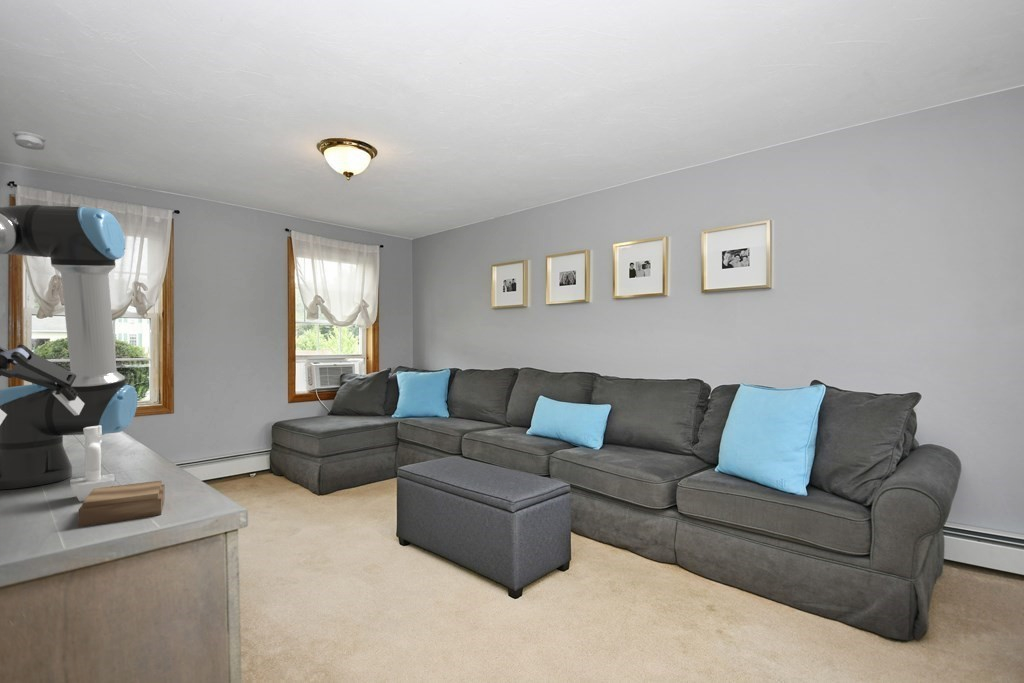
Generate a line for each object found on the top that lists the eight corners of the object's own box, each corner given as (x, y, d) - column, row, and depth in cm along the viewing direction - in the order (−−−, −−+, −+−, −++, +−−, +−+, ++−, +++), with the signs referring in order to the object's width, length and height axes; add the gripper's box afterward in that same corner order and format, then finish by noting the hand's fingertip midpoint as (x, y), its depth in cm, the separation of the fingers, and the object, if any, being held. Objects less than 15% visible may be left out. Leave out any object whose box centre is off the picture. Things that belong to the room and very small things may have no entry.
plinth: (90, 508, 100) (90, 488, 100) (164, 498, 107) (164, 479, 107) (78, 526, 90) (78, 504, 90) (161, 514, 96) (161, 493, 96)
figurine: (70, 505, 102) (70, 430, 102) (70, 495, 109) (70, 425, 110) (116, 498, 107) (116, 426, 107) (112, 489, 114) (112, 422, 114)
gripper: (-154, 361, 78) (-45, 442, 93) (26, 339, 80) (104, 420, 95) (-120, 328, 83) (-22, 409, 98) (48, 308, 86) (118, 390, 101)
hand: (40, 415), depth 97 cm, fingers open, 13 cm apart
